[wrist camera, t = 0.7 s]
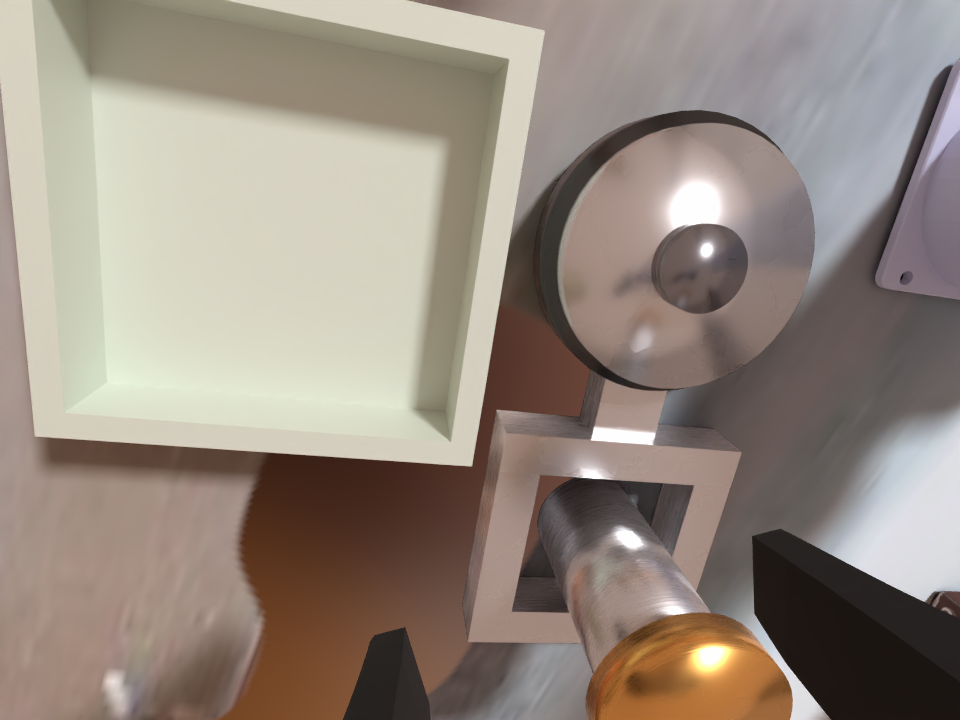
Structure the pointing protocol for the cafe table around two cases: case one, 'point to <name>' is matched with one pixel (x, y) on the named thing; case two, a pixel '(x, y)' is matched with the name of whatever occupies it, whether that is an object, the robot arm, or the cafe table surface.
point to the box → (948, 602)
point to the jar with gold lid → (649, 619)
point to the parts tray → (263, 219)
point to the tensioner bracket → (642, 340)
